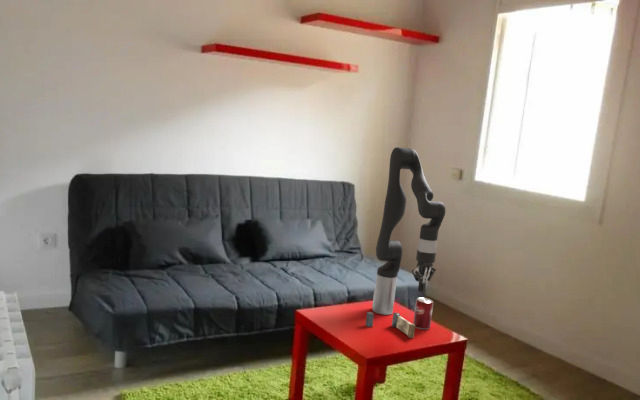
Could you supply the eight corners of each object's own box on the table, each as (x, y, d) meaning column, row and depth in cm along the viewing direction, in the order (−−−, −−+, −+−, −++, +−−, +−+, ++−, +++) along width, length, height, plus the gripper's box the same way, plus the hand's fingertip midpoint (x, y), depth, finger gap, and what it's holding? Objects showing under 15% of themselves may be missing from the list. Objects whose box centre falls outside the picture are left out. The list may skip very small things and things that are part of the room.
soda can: (416, 329, 239) (420, 302, 238) (410, 323, 246) (414, 297, 245) (432, 330, 241) (436, 303, 239) (426, 323, 248) (429, 297, 246)
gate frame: (364, 324, 239) (366, 311, 239) (397, 325, 242) (398, 312, 242) (366, 327, 236) (368, 314, 236) (399, 327, 240) (401, 315, 239)
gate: (395, 327, 239) (397, 315, 238) (399, 327, 239) (400, 315, 239) (409, 338, 229) (411, 325, 228) (413, 337, 229) (415, 325, 229)
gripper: (429, 246, 235) (424, 286, 237) (409, 249, 226) (403, 290, 228) (444, 251, 229) (438, 292, 232) (423, 253, 220) (418, 296, 223)
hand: (421, 291), depth 230 cm, fingers closed
